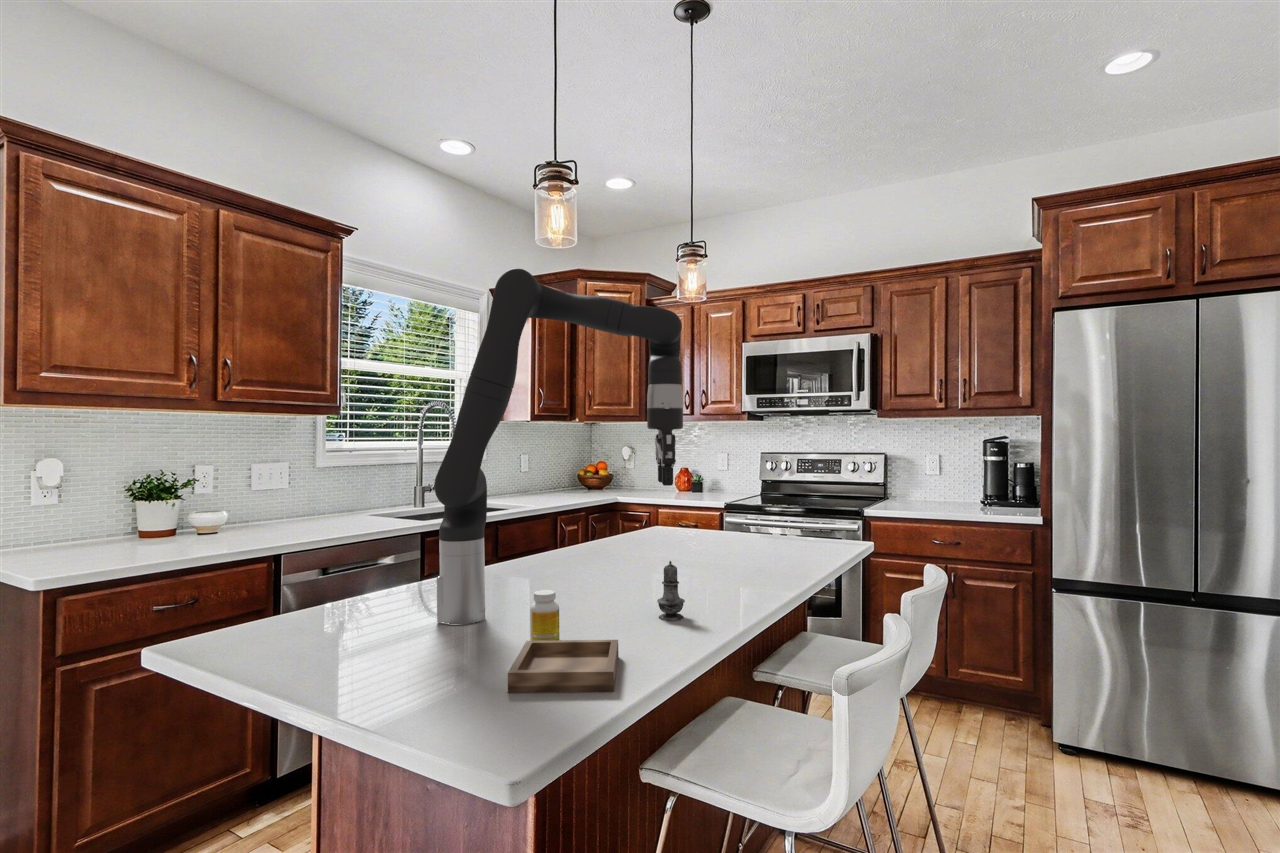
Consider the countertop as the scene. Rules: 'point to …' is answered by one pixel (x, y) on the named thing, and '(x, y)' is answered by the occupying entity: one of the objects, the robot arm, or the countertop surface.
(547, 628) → the supplement bottle
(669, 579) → the salt shaker
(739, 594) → the countertop surface
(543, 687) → the tray
